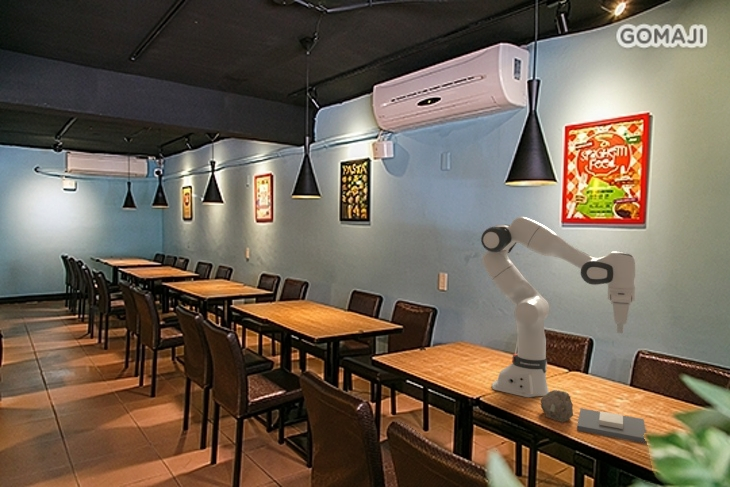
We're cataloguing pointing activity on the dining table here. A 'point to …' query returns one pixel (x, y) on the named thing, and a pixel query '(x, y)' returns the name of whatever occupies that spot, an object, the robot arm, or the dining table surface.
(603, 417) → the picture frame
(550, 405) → the rock
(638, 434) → the board
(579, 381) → the dining table surface
